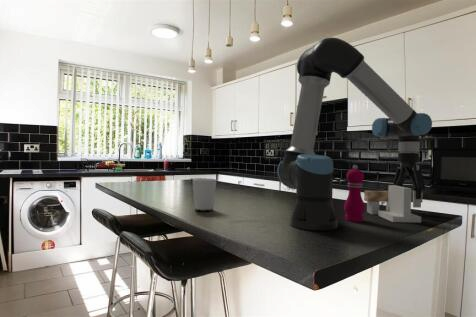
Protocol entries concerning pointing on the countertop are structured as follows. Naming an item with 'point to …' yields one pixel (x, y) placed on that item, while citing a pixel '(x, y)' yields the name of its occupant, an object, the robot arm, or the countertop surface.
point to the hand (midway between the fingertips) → (407, 204)
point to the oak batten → (381, 196)
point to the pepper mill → (354, 196)
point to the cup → (204, 193)
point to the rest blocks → (374, 207)
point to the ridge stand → (399, 205)
